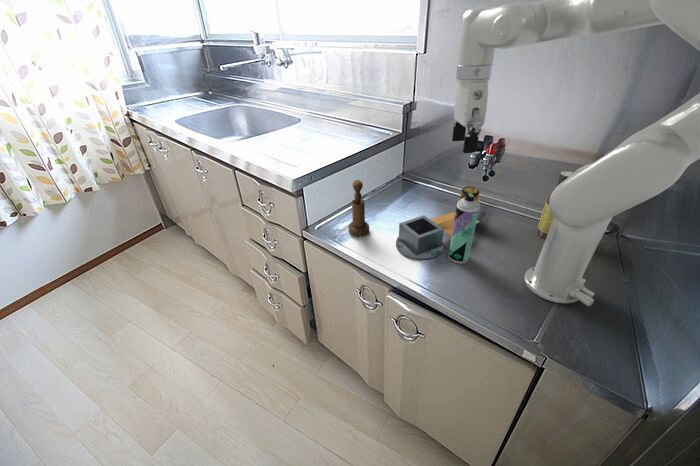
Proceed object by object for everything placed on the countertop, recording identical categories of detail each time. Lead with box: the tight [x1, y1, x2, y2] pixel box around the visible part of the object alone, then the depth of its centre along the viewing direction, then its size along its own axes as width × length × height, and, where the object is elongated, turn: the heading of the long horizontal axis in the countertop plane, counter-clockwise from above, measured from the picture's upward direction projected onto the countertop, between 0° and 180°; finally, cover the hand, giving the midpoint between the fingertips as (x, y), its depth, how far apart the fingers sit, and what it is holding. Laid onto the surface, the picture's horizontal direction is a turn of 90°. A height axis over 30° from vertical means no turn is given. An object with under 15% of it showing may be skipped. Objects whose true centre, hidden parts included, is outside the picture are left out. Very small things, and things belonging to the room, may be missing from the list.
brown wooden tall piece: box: [348, 179, 370, 238], centre depth 98 cm, size 7×6×18 cm
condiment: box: [458, 186, 480, 225], centre depth 101 cm, size 7×8×12 cm
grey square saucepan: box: [395, 211, 456, 261], centre depth 94 cm, size 14×20×7 cm
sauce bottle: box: [536, 170, 574, 239], centre depth 92 cm, size 6×6×20 cm
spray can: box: [448, 193, 481, 264], centre depth 84 cm, size 6×6×20 cm
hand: (463, 146), depth 82 cm, fingers open, 9 cm apart
